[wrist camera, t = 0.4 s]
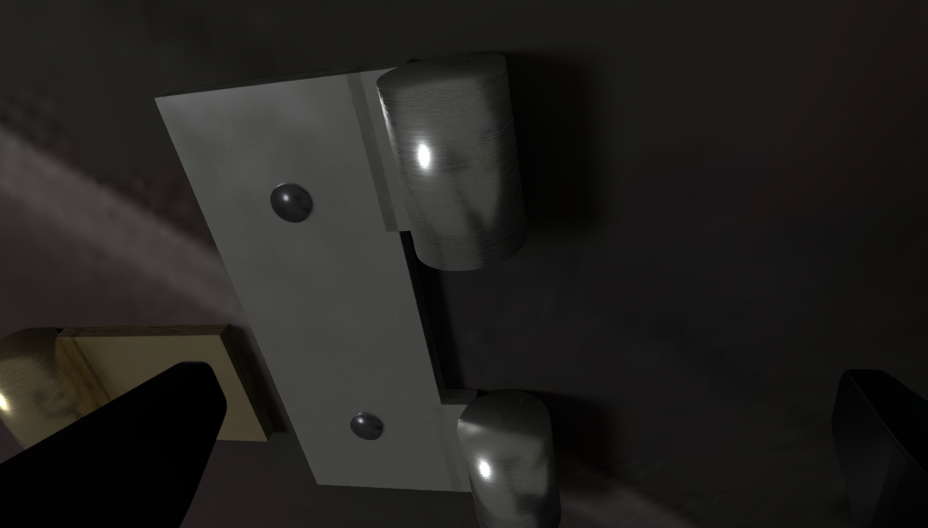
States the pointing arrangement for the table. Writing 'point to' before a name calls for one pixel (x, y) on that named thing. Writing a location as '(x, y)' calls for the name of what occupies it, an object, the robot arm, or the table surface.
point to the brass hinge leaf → (116, 374)
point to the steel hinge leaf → (373, 264)
